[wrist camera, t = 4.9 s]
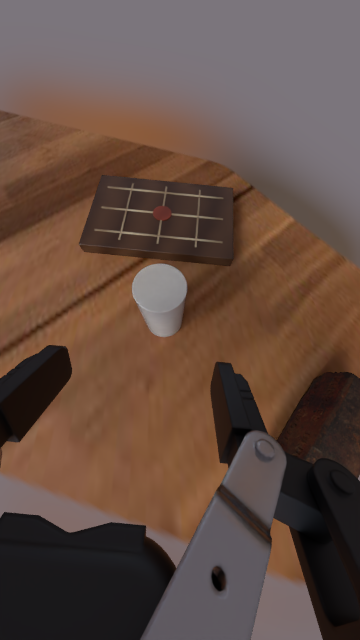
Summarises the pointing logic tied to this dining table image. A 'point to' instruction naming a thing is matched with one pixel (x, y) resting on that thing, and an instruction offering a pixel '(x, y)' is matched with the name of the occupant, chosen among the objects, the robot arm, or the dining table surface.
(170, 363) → the dining table surface
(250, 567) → the robot arm
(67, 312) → the dining table surface
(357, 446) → the brick
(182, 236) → the board
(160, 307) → the white upright cylinder
